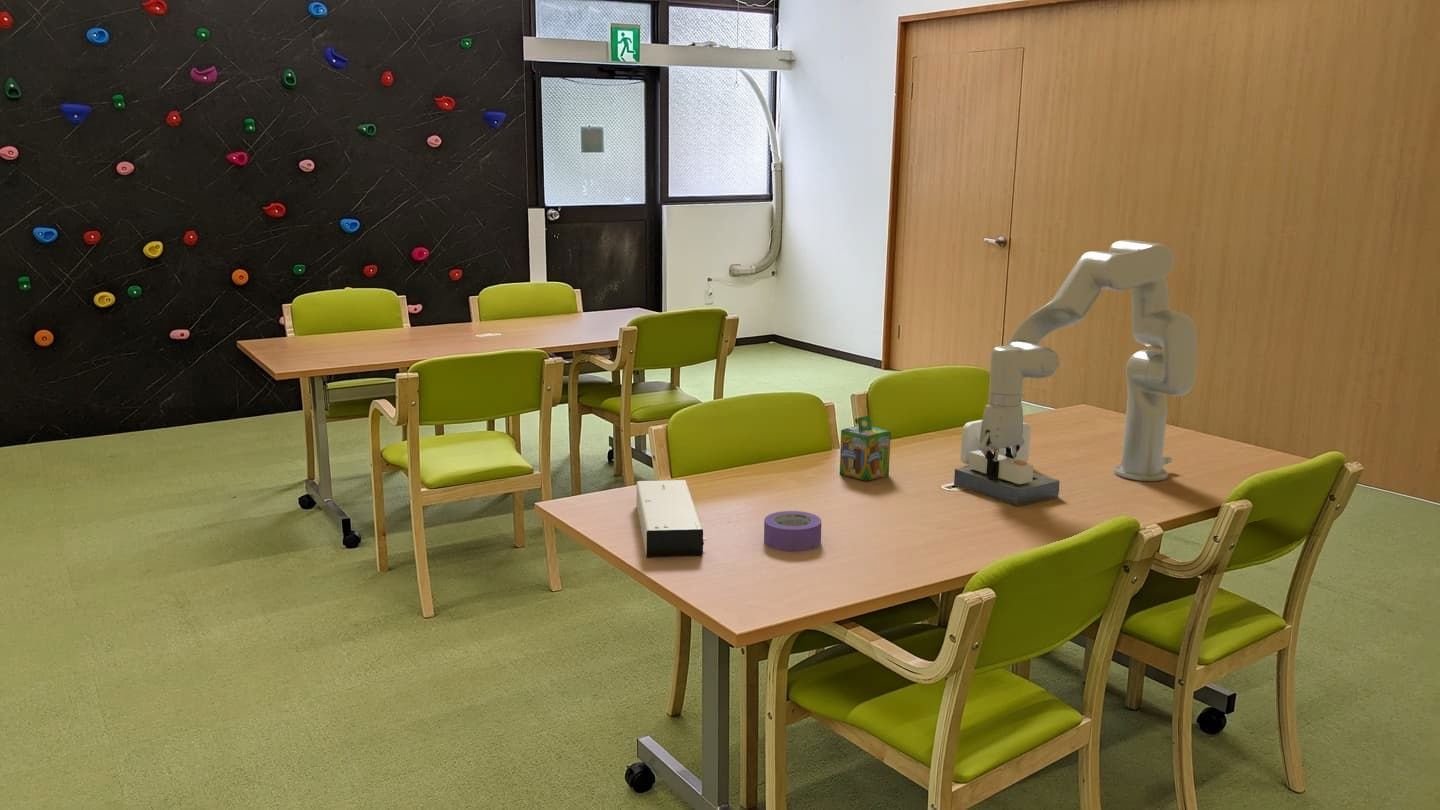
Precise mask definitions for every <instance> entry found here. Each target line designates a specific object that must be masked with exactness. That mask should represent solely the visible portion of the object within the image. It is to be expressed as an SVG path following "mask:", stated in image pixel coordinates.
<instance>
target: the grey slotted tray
mask: <svg viewBox="0 0 1440 810" xmlns="http://www.w3.org/2000/svg"><path fill="white" fill-rule="evenodd" d="M953 477H954V479H953V485H954V486H956V487H958V488H962V489H964V490H968V491H970V492H973V493H976V494H979V495H982V496H984V497H988V498H990V499H994V500H995V501H999V502H1002V503H1005V504H1008V505H1011V506H1014V507H1016V508H1018V507H1022V506H1027V505H1031V504H1035V503H1039V502H1044V501H1048V500H1052V499H1056V498H1059V491H1060V483H1061V481H1060V480H1059V479H1055V478H1051V477H1049V476H1045V475H1042V474H1039V473H1035V472H1033V480H1032V482H1028V483H1023V484H1019V485H1017V486H1015V485H1012V482H1010V481H1007V480H1004V479H1001V478H998V477H997V478H994V477H991V476H988V475H982V474H981V472H980V471H976V470H973V469H970V468H969V465H968V466H964V467H958V468H955V469H954V476H953Z"/></svg>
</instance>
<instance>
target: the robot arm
mask: <svg viewBox="0 0 1440 810" xmlns="http://www.w3.org/2000/svg"><path fill="white" fill-rule="evenodd" d="M1174 265H1175V255H1174V253H1173V251H1172V250H1171V249H1170V247H1168V246H1167V245H1165V244H1163V243H1158V242H1149V241H1142V240H1133V239H1122V240H1121V239H1120V240H1116V241H1115V242H1113V243H1112V244H1111V245H1110V246H1109V249H1108V251H1101V250H1100V251H1099V250H1091V251H1088V252H1087V251H1086V252H1085V253H1083V254H1082V255H1081V256H1080V257H1079V258H1078V260H1077V261H1076V263H1075V264H1074V266H1073V267H1072V269H1071V270H1070V272H1069V274H1068V275H1067V277H1066V278H1065V280H1064V281H1063V283H1062V285H1060V287H1059V289H1058V290H1057V292H1056V294H1054V296H1053V297H1052V299H1051V300H1050V301H1049V302H1048V303H1046V304H1045V305H1043V306H1041V307H1039V308H1038V309H1036V311H1034V312H1033V313H1032V314H1030V315H1029V316H1027V318H1025V319H1024V320H1023V321H1022V322H1021V323H1020V324H1019V325H1018V326H1017V328H1016V329H1015V331H1014V333H1013V334H1012V336H1011V337H1010V339H1009V340H1008V342H1007V344H1006V345H999V346H996V347H993V349H992V351H991V353H990V354H991V355H990V370H989V372H990V373H989V386H988V387H989V388H988V401H987V403H988V404H986V405H985V408H984V409H983V414H982V419H981V420H982V425H981V432H980V446H979V450H980V451H981V452H982V453H983V454H984V455H985V458H986V459H987V472H986V474H987V475H988V476H991V477H994V478H997V477H998V470H999V461H997V459H998V455H999V451H1000V449H1001V448H1004V453H1005V455H1004V456H1006V457H1009V458H1012V459H1014V458H1016V456H1017V452H1018V450H1019V449H1020V447H1021V446H1022V445H1023V444H1024V442H1025V441H1024V439H1023V423H1024V412H1023V410H1024V409H1023V405H1022V398H1023V385H1024V378H1031V379H1047V378H1050V377H1051V376H1053V375H1054V374H1055V373H1057V371H1058V369H1059V367H1060V362H1061V361H1060V357H1059V354H1057V352H1056V351H1055V350H1054V349H1053V348H1050V347H1047V346H1046V345H1040V343H1041V341H1043V339H1044V338H1045V337H1047V336H1048V335H1049V334H1051V333H1053V332H1055V331H1057V330H1060V329H1062V328H1065V327H1066V328H1067V327H1069V326H1072V325H1075V324H1077V323H1080V322H1081V321H1083V320H1084V319H1085V318H1086V316H1087V314H1088V313H1089V312H1090V310H1091V308H1092V307H1093V306H1094V303H1095V302H1096V301H1097V300H1098V298H1099V296H1100V295H1101V294H1102V292H1103V290H1111V291H1116V292H1117V291H1126V290H1130V292H1131V293H1130V294H1131V326H1132V327H1131V328H1132V330H1131V331H1132V337H1133V339H1134V340H1135V341H1136V342H1137V343H1138V344H1141V345H1144V346H1146V347H1150V348H1154V349H1159V350H1162V351H1158V350H1153V349H1140V350H1137V351H1136V352H1134V353H1132V355H1131V356H1129V359H1128V360H1127V363H1126V366H1125V379H1126V384H1127V385H1126V387H1127V397H1126V398H1127V400H1126V413H1125V419H1124V420H1125V421H1124V423H1125V424H1124V431H1123V432H1124V434H1123V441H1122V442H1123V443H1122V452H1121V453H1122V454H1121V463H1120V464H1117V465H1115V466H1114V467H1113V468H1114V469H1113V472H1114V474H1116V475H1117V476H1119V477H1121V478H1125V479H1129V480H1135V481H1140V482H1143V481H1144V482H1156V481H1157V482H1159V481H1163V480H1166V479H1168V475H1169V474H1168V471H1167V470H1165V469H1164V466H1165V465H1169V464H1171V463H1172V461H1173V458H1172V457H1171V456H1170V455H1166V456H1164V446H1165V439H1166V438H1165V436H1166V426H1167V418H1168V408H1169V407H1168V400H1167V397H1166V395H1167V396H1172V397H1181V396H1185V395H1187V394H1188V393H1190V391H1191V390H1192V389H1193V388H1194V386H1195V384H1196V380H1197V375H1198V329H1197V326H1196V324H1195V322H1194V320H1193V318H1191V317H1190V316H1189V315H1188V314H1187V313H1185V312H1182V311H1175V310H1172V309H1171V306H1170V305H1171V304H1170V292H1169V291H1170V290H1169V284H1168V279H1167V278H1166V277H1167V276H1169V274H1170V273H1171V272H1172V271H1173V268H1174ZM992 450H994V454H993V453H992Z"/></svg>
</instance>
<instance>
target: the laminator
mask: <svg viewBox="0 0 1440 810" xmlns="http://www.w3.org/2000/svg"><path fill="white" fill-rule="evenodd" d="M637 510H638V511H637ZM636 511H637V515H639V516H638V521H639V527H640V526H641V527H640V531H641V537H642V542H643V547H644V553H645V557H646V558H660V557H661V558H662V557H663V558H665V557H691V556H692V557H693V556H694V557H698V556H699V557H700V556H701V557H703V555H704V545H705V544H704V543H705V542H704V541H707V538H706V536H705V537H704V529H703V527H702V523H701V519H700V517H699V514H698V512H697V508H696V505H695V503H694V501H693V497H692V495H691V492H690V489H689V485H688V483H687V481H686V479H667V480H663V479H662V480H637V481H636Z"/></svg>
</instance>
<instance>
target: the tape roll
mask: <svg viewBox="0 0 1440 810" xmlns="http://www.w3.org/2000/svg"><path fill="white" fill-rule="evenodd" d="M763 521H764V525H763V526H764V527H763V529H764V530H763V542H764V545H766V546H767V547H768V548H771V549H774V550H777V551H781V552H782V551H783V552H790V553H791V552H793V553H796V552H798V553H799V552H801V553H802V552H807V551H812V550H815V549H817V548H819V547H820V546H821V544H822V518H821V517H820V516H818V515H816V514H814V513H811V512H806V511H800V510H798V511H797V510H784V511H783V510H782V511H777V512H773V513H770V514H767V515H766V516H765V517H764V519H763Z"/></svg>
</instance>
